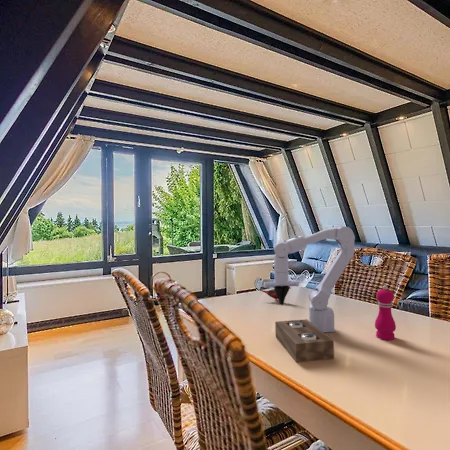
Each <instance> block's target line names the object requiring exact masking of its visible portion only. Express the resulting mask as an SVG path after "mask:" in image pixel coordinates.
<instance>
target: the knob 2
mask: <svg viewBox="0 0 450 450" xmlns="http://www.w3.org/2000/svg"><path fill="white" fill-rule="evenodd" d="M301 338H302V339H303V340H304V341H306V340H316V335H315V334H312V333H303V334H301Z"/></svg>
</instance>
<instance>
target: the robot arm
mask: <svg viewBox="0 0 450 450" xmlns="http://www.w3.org/2000/svg"><path fill="white" fill-rule="evenodd" d="M327 239H329V240H334V241H336V243H337V245H338V248H339V252H338V254H337V255H336V257H335V258H334V260H333V262H332V263H331V265H330V267H329V269H328V270H327V271H326V273H325V274H324V276H323V278H322V280H320V283H319V284H318V285H317V286H316V287H315V288H314V289H312V290H311V291H310V292H309V295H308V299H309V301H310V304H309V306H308V308H309V309H308V310H309V313H308V314H309V315H308V316H309V317H308V320H309V321H310V322H311V323H312V324H314V325H315V326H316V327H317V328H318V329H320V330H321V331H322V332H323V333H333V332H336V329H335V313H334V310H333V308H332V307H330V306H328V304H329V299H330V297H331V293H332V291H333V288H334V287H335V285H336V283H337V282H338V280H339V279H340V277H341V275H342V274H343V272H344V271H345V269H346V267H347V266H348V264H349V263H350V261H351V260H352V259H353V258H352V257H353V256H354V254H355V240H356V236H355V234H354V232H353V230H352V229H351V228H350V227H348V226H343V225H337V226H335V227H334V226H333V227H329V228H325V229H323V230H320V231H317V232H315V233H313V234H310V235H307V236H303V235H297V234H296V235H294V237H293V238H290V239H287V240H286V239H283V241H281V242H277V243H276V244H274V248H273V251H274V262H273V263H274V264H273V266H274V267H273V271H274V272H273V273H274V276H273V277H274V280H272V281H266V282H265V281H263V288H265V289H267V288H273V289H275V291H276V294H277V296H278V299H277V300H279V302H278V304H279V305H281V306H282V305H284V304H285V299H286V296H287V295H288V293H289V290H290V289H289V288H288V286H289V287H300V282H299V281H297V280H289V259H288V255H289V254H294V253H297V252H299V251H303V250H306V248H307V246H308V245H311V244H314V243H317V242H320V241H324V240H327Z"/></svg>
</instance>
